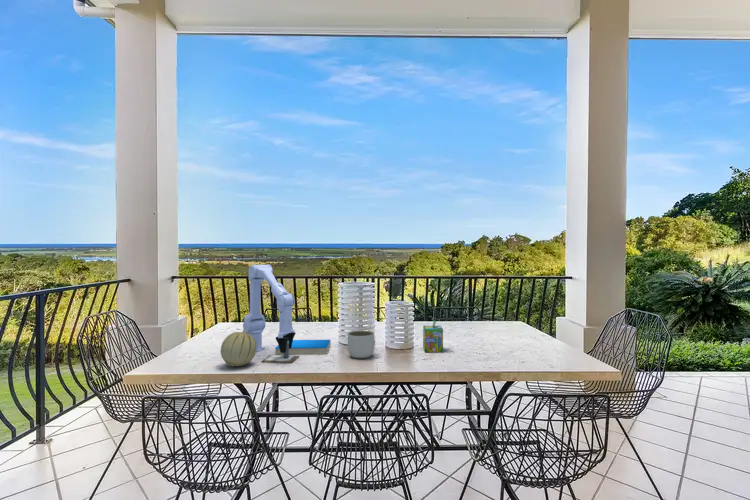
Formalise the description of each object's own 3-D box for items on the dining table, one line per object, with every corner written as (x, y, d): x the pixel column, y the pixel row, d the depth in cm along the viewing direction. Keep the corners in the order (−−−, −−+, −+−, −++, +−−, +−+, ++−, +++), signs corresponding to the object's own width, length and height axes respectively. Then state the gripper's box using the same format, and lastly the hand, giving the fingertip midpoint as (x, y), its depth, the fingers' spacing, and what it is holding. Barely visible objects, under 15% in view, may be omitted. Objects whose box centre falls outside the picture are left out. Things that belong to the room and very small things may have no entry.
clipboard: (261, 362, 171) (261, 359, 171) (270, 356, 181) (270, 353, 181) (291, 363, 169) (291, 359, 169) (299, 357, 179) (298, 354, 179)
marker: (282, 358, 173) (282, 341, 173) (284, 357, 176) (284, 339, 176) (287, 358, 173) (287, 341, 173) (289, 357, 176) (289, 339, 176)
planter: (374, 360, 173) (374, 335, 173) (347, 360, 173) (346, 336, 173) (374, 352, 185) (374, 330, 185) (348, 353, 185) (348, 330, 185)
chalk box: (422, 348, 194) (422, 318, 194) (441, 348, 194) (440, 318, 194) (424, 352, 185) (424, 322, 185) (443, 352, 184) (443, 322, 185)
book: (327, 347, 183) (275, 347, 183) (327, 356, 183) (275, 356, 183) (330, 339, 200) (282, 339, 200) (330, 347, 200) (282, 347, 200)
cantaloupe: (213, 370, 160) (213, 334, 160) (231, 360, 174) (231, 327, 174) (246, 371, 158) (246, 335, 158) (262, 361, 172) (262, 328, 172)
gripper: (288, 323, 167) (289, 354, 167) (299, 318, 181) (299, 346, 181) (273, 323, 168) (273, 354, 168) (284, 317, 182) (285, 346, 182)
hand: (285, 350), depth 175 cm, fingers open, 7 cm apart
